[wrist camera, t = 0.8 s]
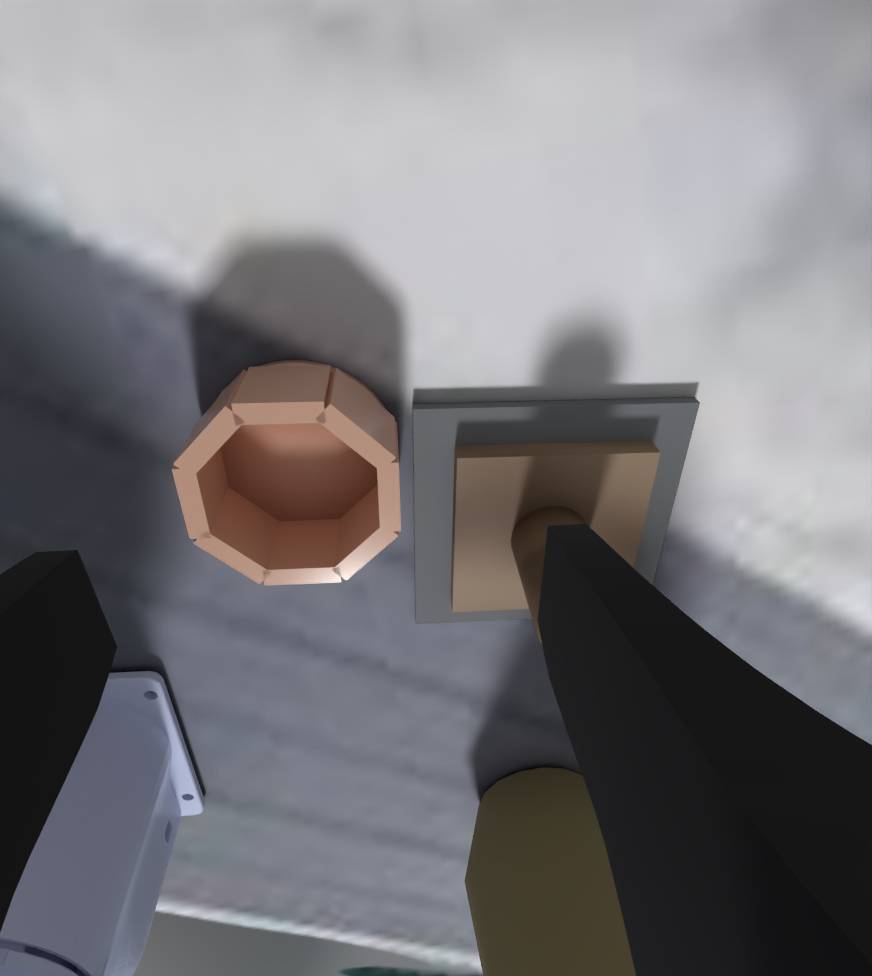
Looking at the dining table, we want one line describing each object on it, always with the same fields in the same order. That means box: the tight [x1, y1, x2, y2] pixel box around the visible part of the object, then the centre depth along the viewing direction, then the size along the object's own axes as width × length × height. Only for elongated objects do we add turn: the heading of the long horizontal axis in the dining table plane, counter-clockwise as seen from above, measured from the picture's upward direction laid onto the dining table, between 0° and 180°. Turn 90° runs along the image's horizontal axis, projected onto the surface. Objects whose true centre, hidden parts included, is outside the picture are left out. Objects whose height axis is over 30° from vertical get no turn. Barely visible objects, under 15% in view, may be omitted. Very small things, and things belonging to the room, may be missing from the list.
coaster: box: [413, 397, 700, 624], centre depth 22 cm, size 9×9×1 cm
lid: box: [450, 440, 661, 644], centre depth 19 cm, size 6×6×5 cm
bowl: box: [172, 360, 401, 586], centre depth 18 cm, size 6×6×3 cm
